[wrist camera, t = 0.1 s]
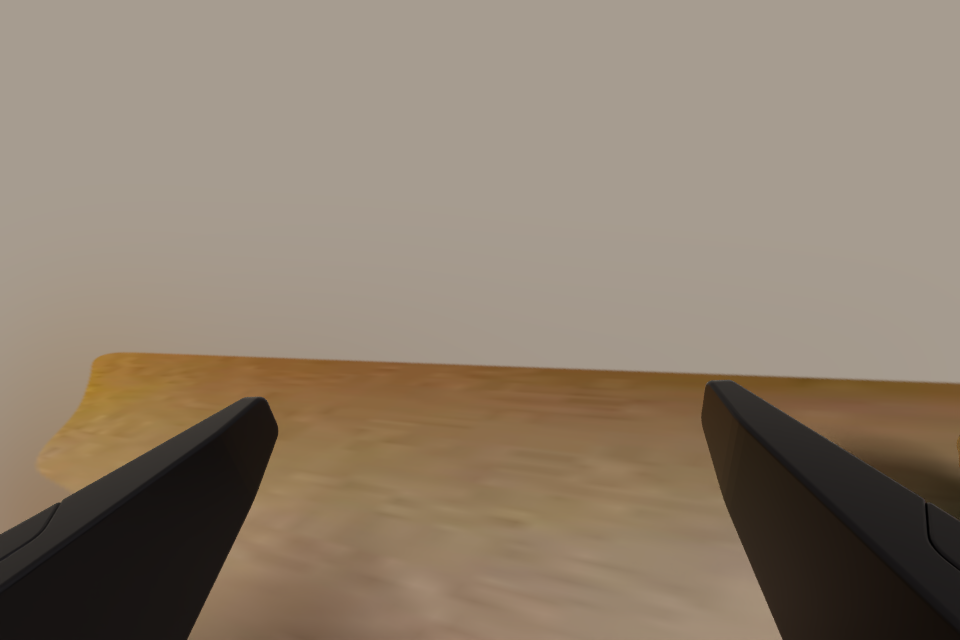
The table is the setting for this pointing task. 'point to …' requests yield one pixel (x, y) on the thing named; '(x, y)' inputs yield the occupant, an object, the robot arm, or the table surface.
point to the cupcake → (959, 447)
